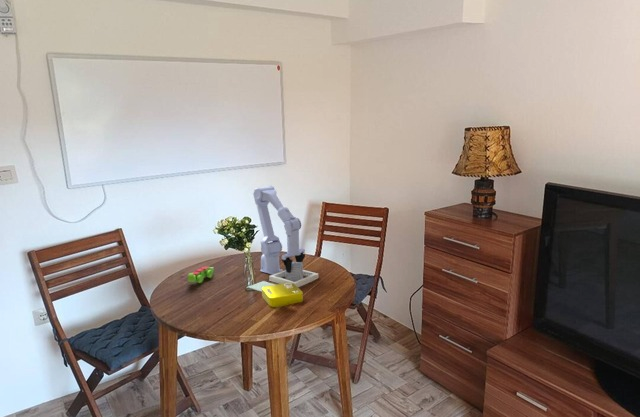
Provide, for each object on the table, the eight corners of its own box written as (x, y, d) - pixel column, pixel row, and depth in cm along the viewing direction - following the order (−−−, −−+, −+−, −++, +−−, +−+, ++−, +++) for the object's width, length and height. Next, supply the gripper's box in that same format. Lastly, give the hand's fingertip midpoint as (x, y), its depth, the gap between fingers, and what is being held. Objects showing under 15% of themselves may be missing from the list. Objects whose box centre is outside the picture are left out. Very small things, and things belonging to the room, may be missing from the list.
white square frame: (269, 280, 211) (269, 276, 210) (293, 271, 223) (292, 267, 223) (295, 288, 200) (295, 283, 200) (318, 278, 213) (318, 273, 212)
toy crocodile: (207, 272, 225) (206, 261, 224) (218, 273, 222) (217, 262, 221) (182, 285, 207) (181, 273, 205) (194, 287, 204) (193, 274, 203)
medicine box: (303, 278, 213) (302, 262, 211) (300, 281, 209) (300, 264, 207) (287, 277, 215) (287, 261, 213) (285, 280, 210) (284, 263, 209)
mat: (247, 287, 202) (247, 286, 202) (263, 281, 210) (263, 280, 210) (262, 292, 196) (262, 291, 196) (278, 286, 203) (278, 285, 203)
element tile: (260, 296, 193) (260, 285, 192) (292, 290, 199) (292, 280, 198) (270, 308, 179) (270, 297, 178) (304, 302, 185) (304, 291, 184)
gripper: (288, 248, 200) (289, 276, 203) (309, 241, 211) (309, 268, 214) (278, 245, 205) (278, 273, 207) (298, 239, 216) (299, 265, 218)
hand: (293, 270), depth 211 cm, fingers open, 7 cm apart
